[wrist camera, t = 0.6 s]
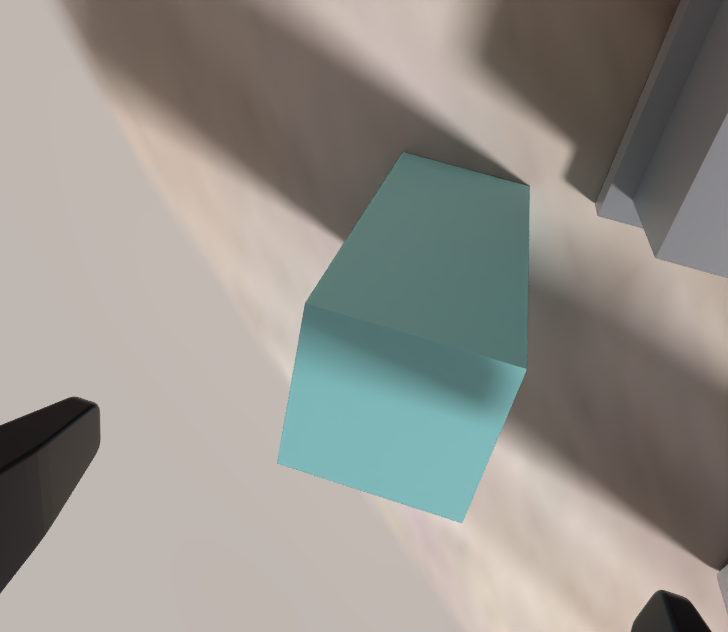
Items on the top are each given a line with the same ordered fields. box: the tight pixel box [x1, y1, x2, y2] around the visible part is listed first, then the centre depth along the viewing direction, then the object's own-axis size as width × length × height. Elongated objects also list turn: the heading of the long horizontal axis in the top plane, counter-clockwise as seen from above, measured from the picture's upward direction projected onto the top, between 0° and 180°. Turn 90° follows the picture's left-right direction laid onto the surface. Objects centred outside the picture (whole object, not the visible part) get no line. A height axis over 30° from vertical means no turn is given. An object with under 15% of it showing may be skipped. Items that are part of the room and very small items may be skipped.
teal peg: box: [277, 152, 530, 523], centre depth 16 cm, size 4×4×10 cm
